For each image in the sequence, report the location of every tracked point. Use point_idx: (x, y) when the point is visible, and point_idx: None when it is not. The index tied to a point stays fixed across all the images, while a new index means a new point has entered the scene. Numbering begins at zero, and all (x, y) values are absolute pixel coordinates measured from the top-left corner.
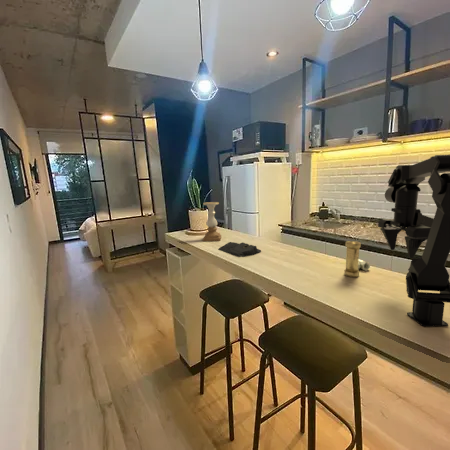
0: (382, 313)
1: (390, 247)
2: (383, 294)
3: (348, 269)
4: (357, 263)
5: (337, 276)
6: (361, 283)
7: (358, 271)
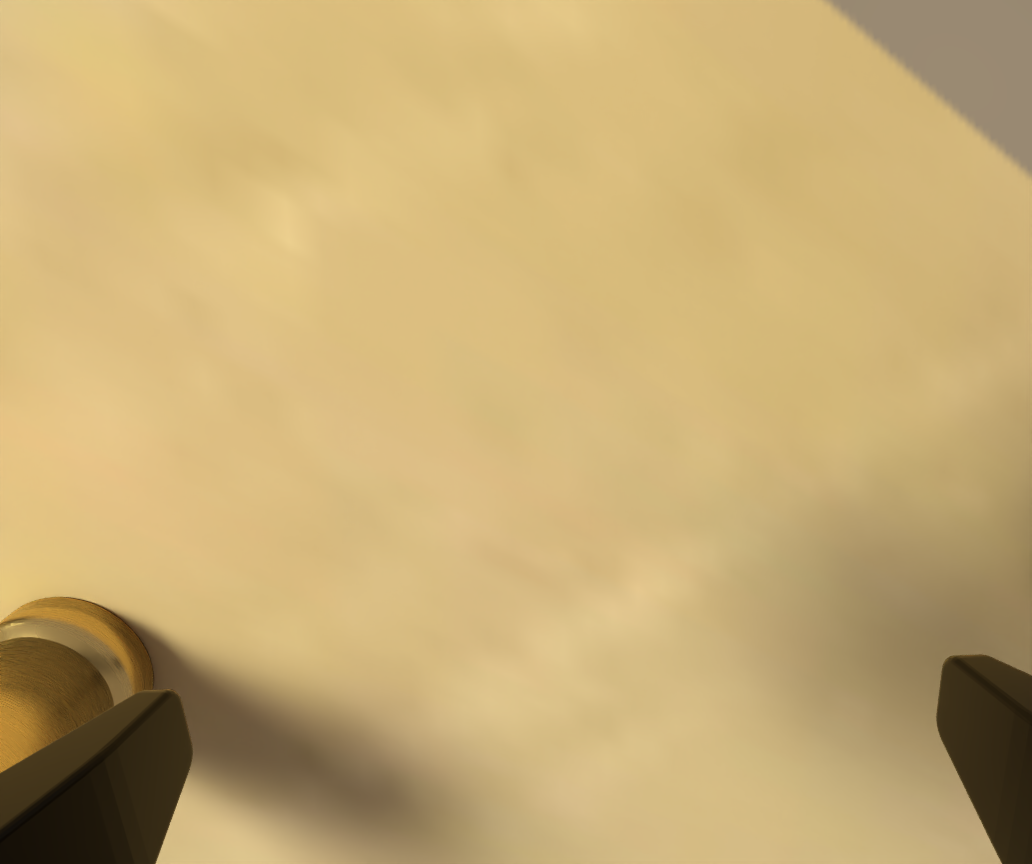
0: None
1: (160, 833)
2: (617, 585)
3: None
4: (12, 752)
5: None
6: (331, 665)
7: (48, 635)
